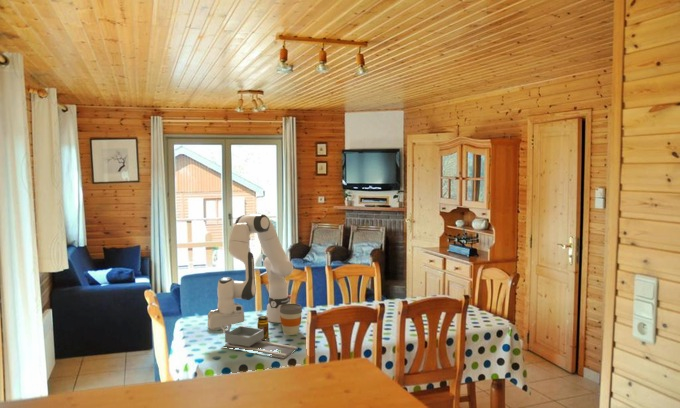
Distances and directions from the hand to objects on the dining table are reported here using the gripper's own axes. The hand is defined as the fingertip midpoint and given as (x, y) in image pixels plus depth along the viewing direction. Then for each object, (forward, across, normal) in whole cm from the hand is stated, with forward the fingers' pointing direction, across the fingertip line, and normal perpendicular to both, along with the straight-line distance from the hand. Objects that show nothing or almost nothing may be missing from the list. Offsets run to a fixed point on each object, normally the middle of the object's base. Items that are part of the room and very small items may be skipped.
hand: (226, 333), depth 303 cm
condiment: (+5, +19, -5) cm, 20 cm away
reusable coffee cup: (+5, +37, -6) cm, 38 cm away
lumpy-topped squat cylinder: (+5, +7, +28) cm, 29 cm away
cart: (+3, +6, -10) cm, 12 cm away
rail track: (+5, +11, -19) cm, 22 cm away
